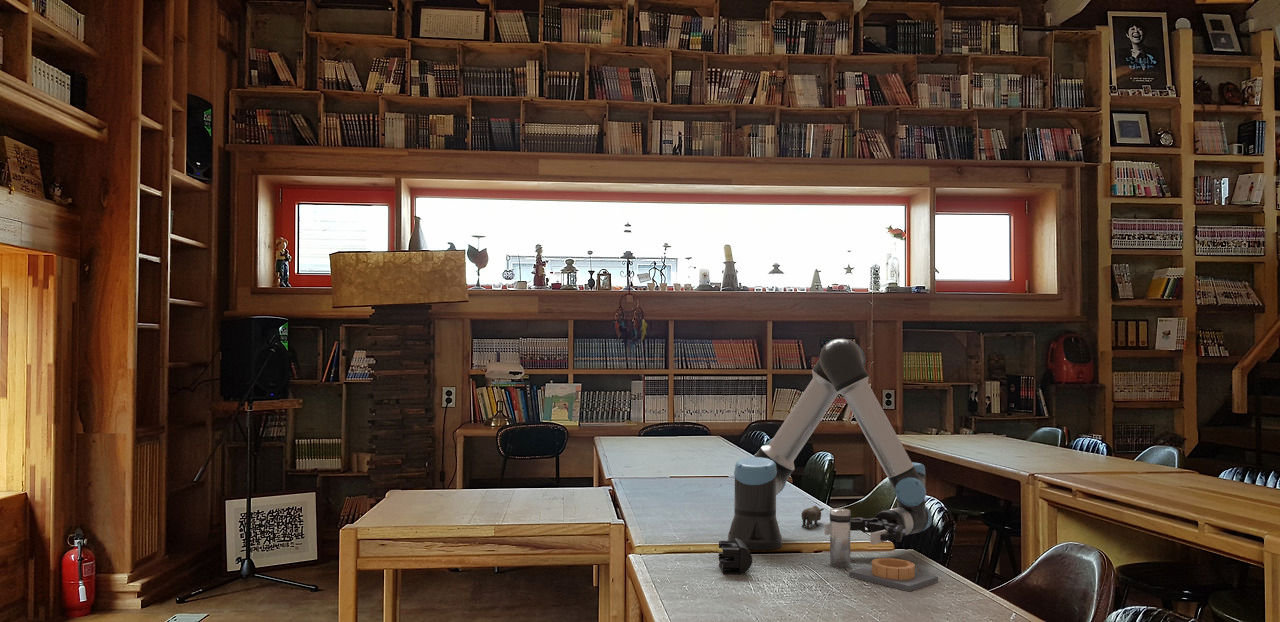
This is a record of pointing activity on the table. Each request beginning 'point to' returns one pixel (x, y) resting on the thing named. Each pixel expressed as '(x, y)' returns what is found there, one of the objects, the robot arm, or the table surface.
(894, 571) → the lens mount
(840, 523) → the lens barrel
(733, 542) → the end cap
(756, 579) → the table surface
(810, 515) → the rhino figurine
